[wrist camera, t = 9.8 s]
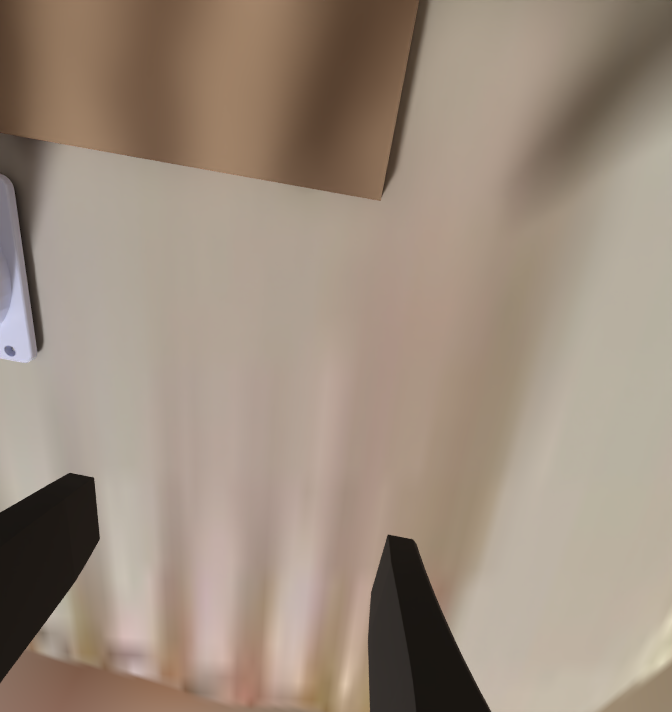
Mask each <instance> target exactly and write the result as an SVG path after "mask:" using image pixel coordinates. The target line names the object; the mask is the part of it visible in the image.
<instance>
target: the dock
mask: <svg viewBox="0 0 672 712" xmlns="http://www.w3.org/2000/svg"><path fill="white" fill-rule="evenodd" d="M418 4H419V0H0V133H4V134H10V135H15V136H21V137H27V138H32V139H38V140H43V141H49V142H55V143H60V144H66V145H71V146H77V147H83V148H88V149H94V150H99V151H105V152H110V153H116V154H122V155H127V156H133V157H138V158H144V159H150V160H155V161H161V162H166V163H172V164H178V165H183V166H189V167H194V168H200V169H206V170H211V171H217V172H222V173H228V174H233V175H239V176H245V177H250V178H256V179H261V180H267V181H273V182H278V183H284V184H289V185H295V186H301V187H306V188H312V189H317V190H323V191H329V192H334V193H340V194H345V195H351V196H357V197H362V198H368V199H373V200H379V201H381V196H382V191H383V186H384V181H385V176H386V170H387V165H388V160H389V155H390V150H391V144H392V139H393V134H394V129H395V124H396V118H397V113H398V108H399V103H400V98H401V93H402V87H403V82H404V77H405V72H406V67H407V61H408V56H409V51H410V46H411V41H412V35H413V30H414V25H415V20H416V15H417V10H418Z"/></svg>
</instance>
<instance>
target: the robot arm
mask: <svg viewBox="0 0 672 712" xmlns="http://www.w3.org/2000/svg"><path fill="white" fill-rule="evenodd" d="M11 347H13V348H14V349H15V351H16V352H15V351H13V350H12V348H11ZM36 356H37V347H36V340H35V333H34V326H33V318H32V311H31V304H30V297H29V290H28V283H27V276H26V269H25V262H24V255H23V248H22V241H21V234H20V226H19V219H18V212H17V205H16V198H15V191H14V187H13V184H12V182H11V181H10V180H9V179H8V178H7V177H6V176H5V175H2V174H0V358H2V359H7V360H12V361H18V362H23V363H27V362H29V361H31V360H33V359H35V358H36ZM99 540H100V536H99V525H98V515H97V504H96V493H95V483H94V478H93V477H88V476H83V475H78V474H73V473H69V474H67V475H65V476H63V477H61V478H59V479H58V480H56V481H54V482H52V483H51V484H49V485H47V486H45V487H44V488H42V489H40V490H38V491H37V492H35V493H33V494H32V495H30V496H28V497H26V498H25V499H23V500H21V501H19V502H18V503H16V504H14V505H13V506H11V507H9V508H7V509H6V510H4V511H2V512H0V683H1V681H2V680H3V678H4V677H5V676H6V674H7V673H8V671H9V670H10V669H11V668H12V666H13V665H14V664H15V662H16V661H17V660H18V658H19V657H20V656H21V654H22V653H23V651H24V650H25V649H26V648H27V646H28V645H29V643H30V642H31V641H32V639H33V638H34V637H35V635H36V634H37V633H38V631H39V630H40V629H41V627H42V626H43V625H44V623H45V622H46V621H47V619H48V618H49V617H50V615H51V614H52V613H53V611H54V610H55V608H56V607H57V606H58V604H59V603H60V602H61V600H62V599H63V598H64V596H65V595H66V593H67V592H68V591H69V589H70V588H71V587H72V585H73V584H74V582H75V581H76V579H77V578H78V576H79V574H80V573H81V571H82V569H83V568H84V566H85V564H86V563H87V561H88V559H89V557H90V556H91V554H92V552H93V550H94V548H95V547H96V545H97V543H98V541H99ZM368 656H369V691H370V712H491V710H490V709H489V707H488V705H487V703H486V701H485V699H484V697H483V696H482V694H481V692H480V690H479V688H478V686H477V684H476V682H475V680H474V678H473V676H472V674H471V672H470V670H469V668H468V666H467V664H466V662H465V660H464V658H463V656H462V654H461V652H460V650H459V648H458V646H457V644H456V642H455V639H454V637H453V635H452V633H451V631H450V628H449V626H448V624H447V622H446V619H445V617H444V615H443V613H442V610H441V608H440V606H439V603H438V601H437V599H436V596H435V594H434V591H433V589H432V586H431V584H430V581H429V578H428V576H427V573H426V570H425V568H424V565H423V562H422V559H421V556H420V554H419V551H418V547H417V544H416V543H415V541H414V540H413V539H408V538H403V537H397V536H392V535H388V536H387V539H386V543H385V546H384V550H383V553H382V557H381V560H380V564H379V567H378V571H377V574H376V578H375V581H374V585H373V588H372V591H371V603H370V617H369V633H368Z"/></svg>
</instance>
